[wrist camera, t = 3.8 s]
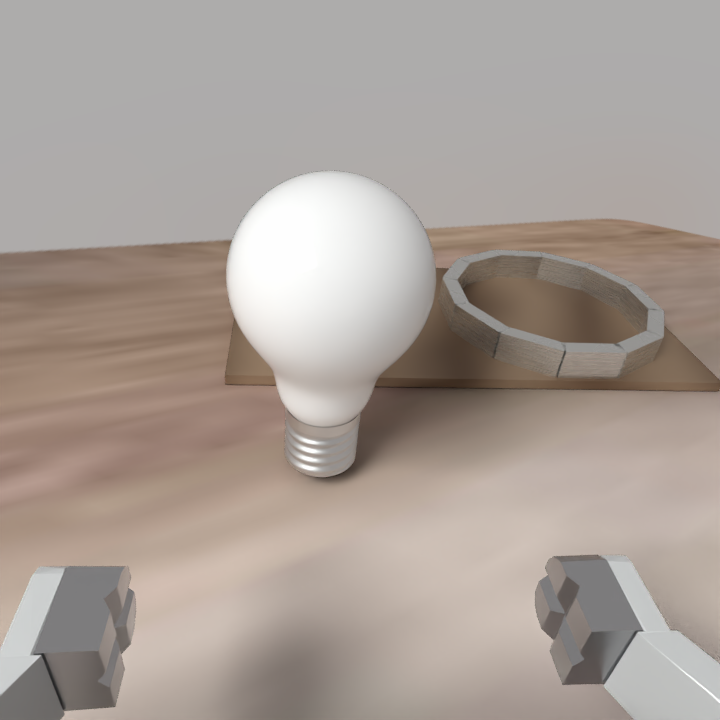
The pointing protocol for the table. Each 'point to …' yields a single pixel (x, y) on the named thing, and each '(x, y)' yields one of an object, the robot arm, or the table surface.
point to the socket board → (528, 332)
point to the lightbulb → (329, 302)
